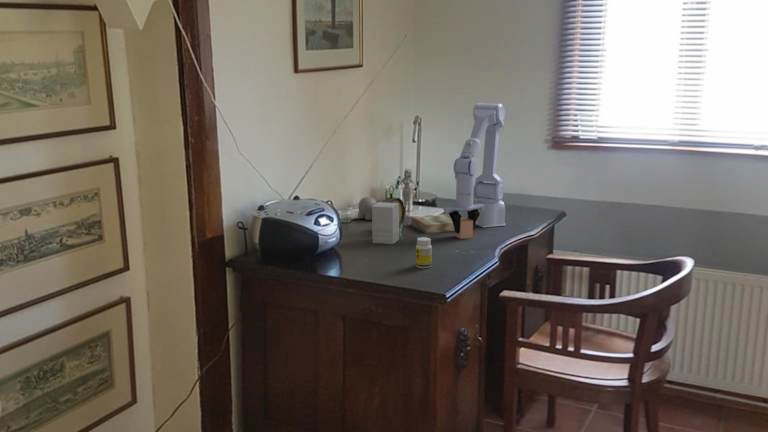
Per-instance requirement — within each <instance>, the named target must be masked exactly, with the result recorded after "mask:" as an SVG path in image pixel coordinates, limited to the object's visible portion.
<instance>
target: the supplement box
mask: <svg viewBox="0 0 768 432" xmlns="http://www.w3.org/2000/svg"><path fill="white" fill-rule="evenodd" d="M371 225H372V227H371V229H372V231H371V233H372V234H371V235H372V243H373V244H385V245H386V244H387V245H394V244H395V243H396V242H398V241H399V240H400V228H399V203H386V202H381V201H378V202H377V204H375V205H373V206H372V219H371Z"/></svg>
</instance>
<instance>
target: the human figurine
mask: <svg viewBox="0 0 768 432" xmlns="http://www.w3.org/2000/svg"><path fill="white" fill-rule="evenodd" d="M403 175H404V177H402V180H401V181H400V182H399V183H398V184H397V185H396V186H394V187H393V188H394V190H396V189H397V188H398V187H399V186H400V185H401V184H403V185H404V186H403V189H402V197H403V201H404V202H403V204H404V208H405V216H406V217H410V214H411V211H410V210H411V199H412V193H413V189H412V188H411V187H410V184H411V183H412V184H413V185H414V187H416V188H417V189H418V190H419V192H420V193H423V190H422V189H421V188H420V187H419V186H418V184H416V183H415V181H414V180H413V179H412V178H413V177H412V170H411V168H404V174H403ZM407 205H408V206H407ZM407 212H408V213H407Z"/></svg>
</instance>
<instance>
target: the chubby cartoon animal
mask: <svg viewBox="0 0 768 432" xmlns="http://www.w3.org/2000/svg"><path fill="white" fill-rule="evenodd" d="M383 201H384V200H381V201H380V202H383ZM377 203H378V202H377V201H376V199H375V198H374V197H371V196H364V197H362V198H361V199H360V201H359V203H358V206H357V207H358V213H357V219H360V220H363V219H365V220H366V221H372V206H373V205H375V204H377Z"/></svg>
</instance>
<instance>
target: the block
mask: <svg viewBox="0 0 768 432" xmlns="http://www.w3.org/2000/svg"><path fill="white" fill-rule="evenodd" d="M473 233H474V229H473V220H471V219H468V217H463V218H462V217H461V219H460V232H459V233H458V234H457V233H455V232H454V236H455V237H457V238H458V239H460V240H464V239H473V237H474V236H473Z"/></svg>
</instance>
